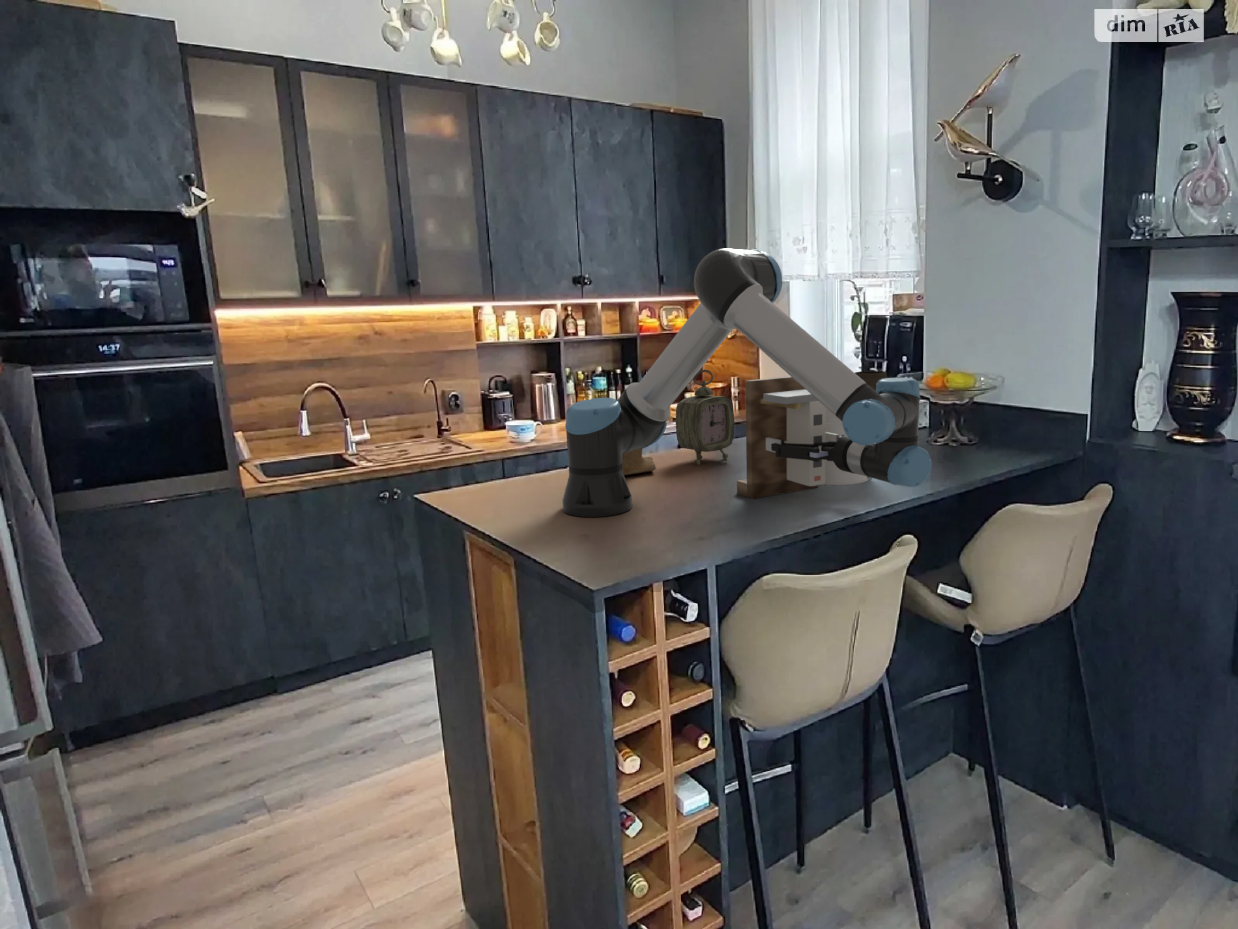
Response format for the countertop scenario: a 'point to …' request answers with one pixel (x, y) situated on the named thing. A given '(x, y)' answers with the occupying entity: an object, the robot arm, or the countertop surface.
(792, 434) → the power strip
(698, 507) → the countertop surface
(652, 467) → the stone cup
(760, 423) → the bracket
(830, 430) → the canister
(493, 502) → the countertop surface
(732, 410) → the tabletop clock
